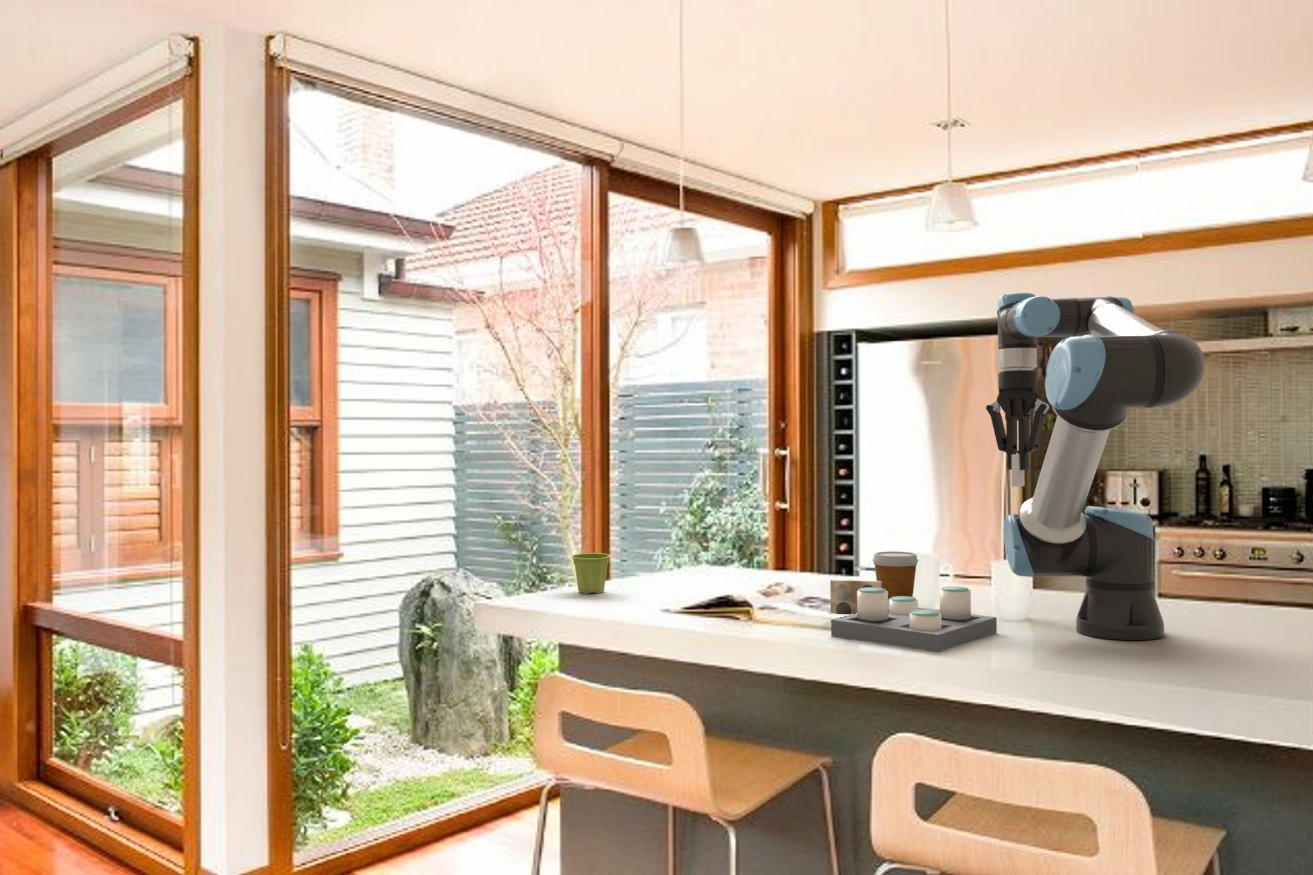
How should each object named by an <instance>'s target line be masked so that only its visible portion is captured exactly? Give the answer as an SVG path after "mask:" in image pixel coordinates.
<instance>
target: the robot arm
mask: <svg viewBox="0 0 1313 875" xmlns="http://www.w3.org/2000/svg"><path fill="white" fill-rule="evenodd" d="M997 300H998V302H997V311H996V314H997V343H998V344H997V350H998V351H997V355H998V356H997V369H999V370H1001V371H999V372H998V373H997V376H998V377H997V381H998V383H997V384H998V385H997V387H998V389H997V390H998V394H997V396H996V400H995V401H994V402H993V403H991V404H987V405H986V406H985V410H986V411H987V413H988V415H989V416H990V419H991V424H992V427H993V431H994V433H993V434H994V436H995V440H996V446H997V450H998V451H1000V452H1005V453H1006V456H1007V469H1008V470H1009V471H1010V470H1011V487H1014V488H1015V487H1016V488H1017V487H1018V488H1019V487H1020V488H1021V487H1025V486H1026V485H1025V481H1026V480H1025V478H1026V477H1025V471H1027V470H1029V462H1030V461H1029V460H1030V459H1029V455H1030V454H1031V453H1033V452H1037V450H1038V449H1039V446H1040V441H1041V437H1042V433H1043V428H1044V423H1045V419H1046V415H1047V414H1048V412H1049V411H1050V409H1051V407H1052V409H1053V411H1054V413H1055V415H1056V420H1055V423H1054V426H1053V429H1052V432H1051V436H1050V440H1049V442H1048V446H1047V449H1046V453H1045V456H1044V460H1043V463H1042V466H1041V470H1040V474H1039V477H1038V479H1037V483H1036V486H1035V490H1034V494H1033V496H1032V497H1030V498H1028V499H1027V500H1026V501H1024V502H1023V504H1022V505H1021V506H1020V510H1019V512H1018V514H1016V513H1012V514H1007V515H1005V518H1004V521H1003V541H1004V548H1005V554H1006V559H1007V563H1008V565H1009V568H1010V570H1011V572H1012V573H1013V574H1015V575H1016V576H1018V577H1025V578H1026V577H1029V578H1034V579H1035V578H1058V577H1059V578H1064V577H1065V578H1066V577H1067V578H1068V577H1076V578H1077V577H1078V578H1079V577H1080V578H1081V577H1083V578H1084V577H1085V591H1084V595H1083V597H1082V601H1081V603H1080V607H1079V609H1078V612H1077V616H1076V619H1075V629H1076V632H1078V633H1080V634H1082V635H1086V636H1089V637H1096V638H1100V639H1101V638H1102V639H1108V640H1109V639H1110V640H1120V641H1121V640H1122V641H1123V640H1126V641H1145V640H1148V641H1150V640H1155V639H1161V638H1163V637H1164V636H1165V622H1164V619H1163V616H1162V613H1161V610H1160V607H1159V604H1158V602H1157V598H1156V596H1155V592H1154V591H1155V590H1154V587H1155V585H1154V584H1155V583H1154V580H1155V578H1154V577H1155V576H1154V575H1155V574H1154V573H1155V572H1154V566H1155V565H1154V564H1155V563H1154V561H1155V560H1154V558H1155V556H1154V554H1155V553H1154V552H1155V549H1154V548H1155V546H1154V545H1155V544H1154V542H1155V539H1156V538H1155V537H1154V536H1155V535H1154V524H1153V523H1154V522H1153V519H1152V518H1151V516H1149V515H1148V514H1146V513H1143V512H1138V511H1132V510H1125V509H1117V508H1111V507H1103V506H1091V505H1088V506H1086V507H1085V504H1086V501H1087V498H1088V495H1089V493H1090V491H1091V490H1090V489H1091V486H1092V484H1093V481H1094V479H1095V475H1096V472H1097V469H1098V466H1099V464H1100V461H1101V458H1102V455H1103V452H1104V449H1105V446H1106V444H1107V440H1108V438H1109V434H1110V431H1112V430H1114V429H1116V428H1118V427H1120V426H1121V425H1122V424H1123V423H1124V421H1125V419H1126V417H1127V415H1128V411H1129V409H1151V408H1153V409H1154V408H1164V407H1168V406H1171V405H1175V404H1177V403H1179V402H1181V401H1183V400H1184V399H1186V398H1187V397H1188V396H1190V395H1191V394H1193V392H1194V391H1195V390H1196V389H1197V388H1198V386H1200V384H1201V382H1202V379H1203V377H1204V375H1205V369H1206V361H1205V357H1204V353H1203V352H1202V349H1201V348H1200V346H1199V345H1198V344H1197V342H1196V341H1194V340H1193V339H1191V338H1190V337H1189V336H1187V335H1185V334H1183V333H1182V332H1180V331H1176V330H1171V329H1164V330H1163V329H1162V328H1160V327H1159V326H1156V325H1154V324H1152V323H1150V322H1149V321H1147V320H1146V319H1144V318H1142V317H1140V316H1138V315H1137V314H1135V310H1134V305H1133V304H1132V301H1131V300H1130V299H1129V298H1127V297H1122V296H1120V297H1119V296H1118V297H1117V296H1112V295H1111V296H1109V295H1108V296H1101V297H1100V296H1099V297H1098V296H1097V297H1047V296H1043V295H1038V296H1036V295H1035V294H1034V293H1032V292H1011V293H1007V294H1006V293H1005V294H1002V295H1001V296H999V298H998V299H997ZM1061 337H1062V338H1063V337H1065V338H1063V339H1062V340H1061V341H1059V342H1058V343H1057V344H1056V346H1055V347H1054V348H1053V350H1052V351H1051V353H1050V356H1049V359H1048V362H1047V366H1046V369H1045V372H1046V376H1045V380H1044V389H1045V390H1044V391H1045V395H1046V398H1047V401H1048V403H1045V402H1044V401H1042V400H1041V399H1040V395H1039V394H1038V392H1037V391H1038V372H1037V371H1036V370H1035V369H1036V368H1037V367H1038V353H1037V352H1038V349H1037V348H1038V344H1037V343H1038V338H1061ZM1001 410H1002V411H1003V412H1004V414H1005V415H1004V420H1005V422H1006V424H1005V425H1004V421H1003V416H1002V414H1001ZM1033 410H1035V413H1034V415H1033V420H1032V425H1031V429H1030V421H1031V413H1032V412H1033ZM1005 426H1006V429H1005ZM1084 507H1085V509H1084ZM1083 509H1084V510H1083ZM1083 512H1084V513H1083Z"/></svg>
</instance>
